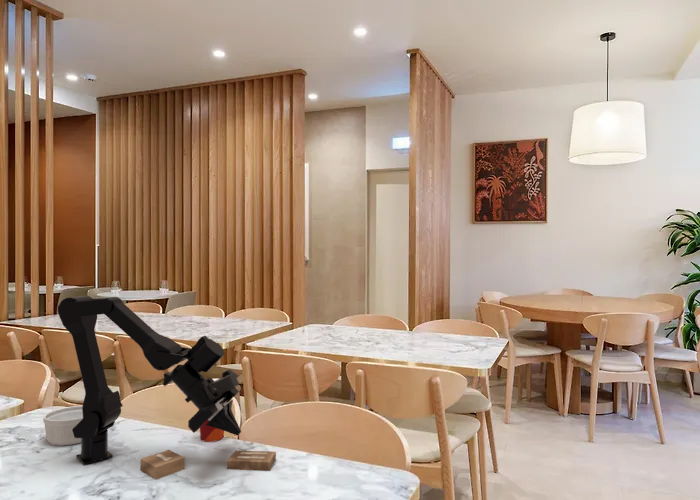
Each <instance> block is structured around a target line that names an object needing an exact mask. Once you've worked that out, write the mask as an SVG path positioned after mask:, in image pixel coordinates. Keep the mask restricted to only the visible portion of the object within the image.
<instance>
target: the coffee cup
mask: <svg viewBox="0 0 700 500" xmlns="http://www.w3.org/2000/svg"><path fill="white" fill-rule="evenodd" d="M212 379H213V380H214V381H216V380H218V379H219V378H212ZM208 422H209V420H208V419H207V421H206V422H205V423H204V424H203V425H202V426H200V428H199V435H200V440H201V441H202V442H205V443H206V442H207V443H209V442H211V443H213V442H217V441H221V440H222V439H223V438H224V436H225V431H224V430H221V429H217V428H214V427H211V426H206V424H207V423H208Z"/></svg>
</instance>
